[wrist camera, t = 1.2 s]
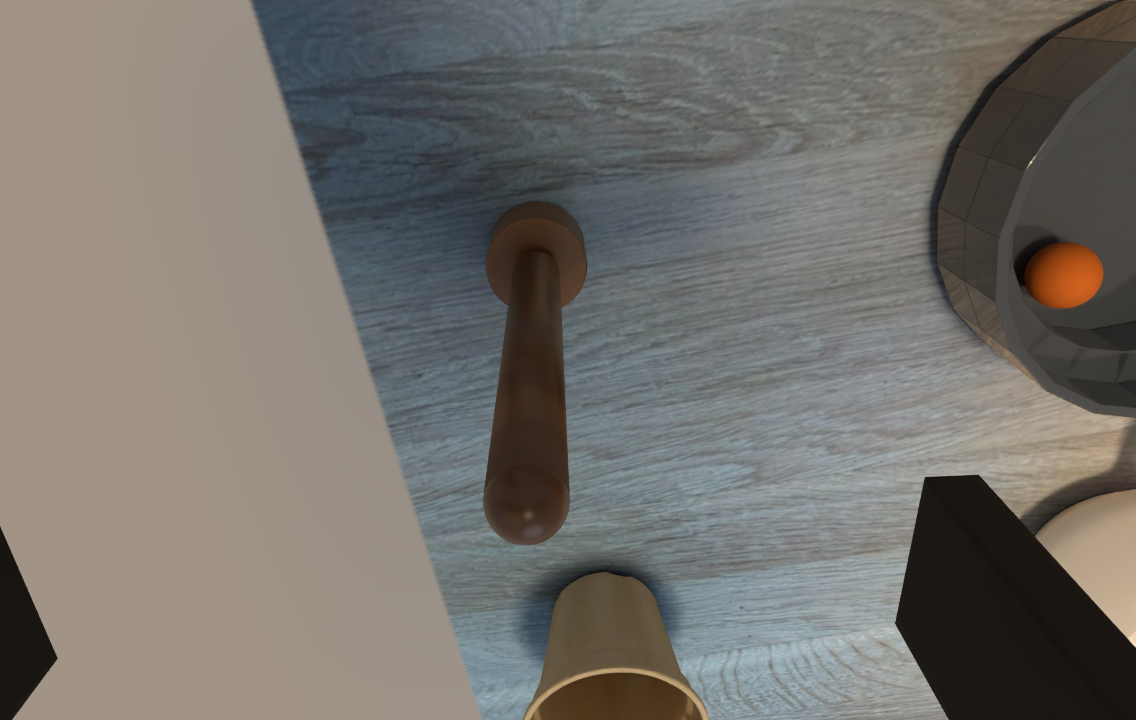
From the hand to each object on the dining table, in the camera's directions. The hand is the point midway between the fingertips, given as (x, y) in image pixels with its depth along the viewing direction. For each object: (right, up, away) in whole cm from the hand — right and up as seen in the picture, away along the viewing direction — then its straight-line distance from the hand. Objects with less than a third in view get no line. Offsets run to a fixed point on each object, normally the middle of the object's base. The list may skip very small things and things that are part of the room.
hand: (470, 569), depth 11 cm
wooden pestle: (0, +8, +25) cm, 26 cm away
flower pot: (+4, -12, +34) cm, 37 cm away
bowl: (+27, +11, +24) cm, 38 cm away
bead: (+24, +7, +23) cm, 34 cm away
